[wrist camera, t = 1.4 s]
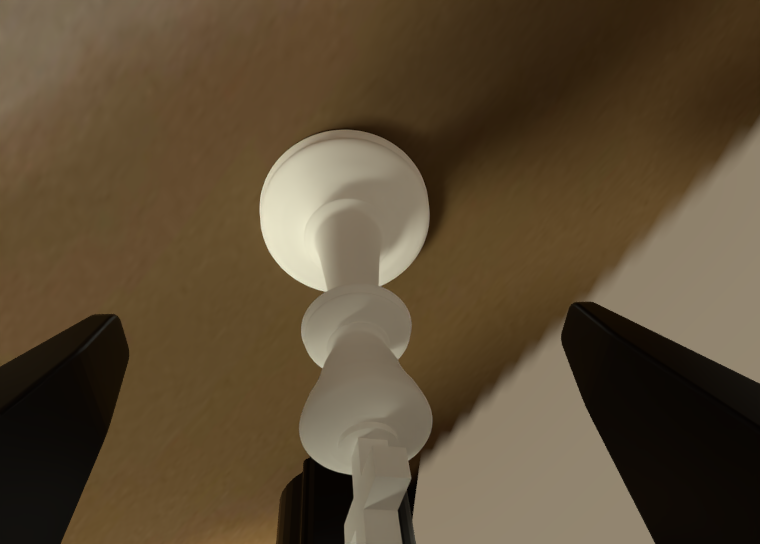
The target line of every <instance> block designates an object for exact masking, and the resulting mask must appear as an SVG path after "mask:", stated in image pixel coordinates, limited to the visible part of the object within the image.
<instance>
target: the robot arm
mask: <svg viewBox="0 0 760 544" xmlns="http://www.w3.org/2000/svg"><path fill="white" fill-rule="evenodd" d="M561 341H562V346H563V348H564V351H565V354H566V356H567V359H568V362H569V364H570V367H571V370H572V372H573V375H574V377H575V380H576V383H577V386H578V388H579V391H580V393H581V396H582V399H583V401H584V403H585V406H586V408H587V410H588V412H589V414H590V416H591V418H592V420H593V422H594V424H595V426H596V428H597V430H598V432H599V434H600V436H601V438H602V440H603V442H604V443H605V446H606V448H607V450H608V452H609V454H610V456H611V458H612V459H613V461H614V463H615V465H616V467H617V469H618V471H619V473H620V475H621V477H622V479H623V481H624V483H625V485H626V487H627V489H628V491H629V493H630V495H631V497H632V499H633V500H634V503H635V505H636V507H637V509H638V511H639V513H640V515H641V516H642V518H643V520H644V522H645V524H646V526H647V528H648V530H649V532H650V534H651V536H652V538H653V540H654V542H655V544H760V383H757V382H755V381H753V380H751V379H749V378H747V377H745V376H743V375H741V374H739V373H737V372H735V371H733V370H731V369H729V368H727V367H725V366H723V365H721V364H718V363H717V362H715V361H712V360H710V359H708V358H706V357H704V356H702V355H700V354H698V353H696V352H694V351H692V350H690V349H688V348H686V347H684V346H682V345H680V344H678V343H676V342H674V341H672V340H670V339H668V338H665V337H663V336H661V335H659V334H657V333H655V332H653V331H651V330H649V329H647V328H645V327H643V326H641V325H639V324H637V323H635V322H633V321H630V320H629V319H627V318H625V317H622V316H620V315H618V314H616V313H614V312H612V311H610V310H608V309H606V308H604V307H602V306H600V305H598V304H596V303H594V302H574V303H573V304H571V306H570V307H569V310H568V313H567V317H566V320H565V323H564V327H563V330H562V334H561ZM128 360H129V348H128V344H127V341H126V337H125V334H124V330H123V327H122V324H121V321H120V319H119V317H118V316H117V315H115V314H95V315H91V316H89V317H88V318H86V319H84V320H82V321H81V322H79V323H77V324H75V325H73V326H72V327H70V328H68V329H66V330H65V331H63V332H61V333H59V334H57V335H56V336H54V337H52V338H50V339H49V340H47V341H45V342H43V343H41V344H40V345H38V346H36V347H34V348H33V349H31V350H29V351H27V352H25V353H24V354H22V355H20V356H18V357H17V358H15V359H13V360H11V361H10V362H8V363H6V364H4V365H2V366H1V367H0V544H61V542H62V539H63V537H64V534H65V532H66V530H67V527H68V525H69V523H70V520H71V518H72V515H73V513H74V511H75V508H76V506H77V504H78V501H79V499H80V497H81V494H82V492H83V489H84V487H85V485H86V482H87V480H88V478H89V475H90V473H91V470H92V468H93V466H94V463H95V461H96V459H97V456H98V454H99V452H100V449H101V447H102V444H103V442H104V439H105V437H106V434H107V432H108V429H109V426H110V423H111V419H112V416H113V412H114V409H115V406H116V402H117V399H118V395H119V392H120V388H121V385H122V381H123V378H124V374H125V371H126V367H127V364H128ZM418 473H419V469H418V470H417V471H416V472H415V474H414V475H413V476H411V481H410V483H409V485H408V488H407V490H406V492H405V495H404V497H403V499H402V502H401V504H400V506H399V509H398V517H399V524H400V531H401V538H402V544H416V541H415V535H414V530H413V524H412V519H413V511H414V504H415V495H416V488H417V481H418ZM353 498H354V495H353V479H352V475H349V474H343V473H339V472H336V471H333V470H330V469H328V468H326V467H324V466H322V465H321V464H319V463H318V462H316V461H315V460H314V459H313V458H312V457H311V456H310V458H308V459H306V460H305V461H304V463H303V472H302V473H301V474H299V475H298V476H296V477H295V478H293V479H292V480H291V481H290V482H289V483H288V484H287V486H286V487H285V489H284V490H283V492H282V495H281V498H280V505H279V516H278V528H277V540H276V544H345V536H344V524H345V521H346V518H347V515H348V513H349V510H350V507H351V504H352V501H353Z"/></svg>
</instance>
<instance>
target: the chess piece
mask: <svg viewBox="0 0 760 544" xmlns="http://www.w3.org/2000/svg"><path fill="white" fill-rule="evenodd" d="M429 219H430V211H429V202H428V194H427V190H426V186H425V183H424V180H423V178H422V176H421V174H420V172H419V170H418V169H417V167H416V165H415V164H414V163H413V161H412V160H411V159H410V158H409V157H408V156H407V155H406V154H405V153H404V152H403V151H402V150H401V149H400V148H398V147H397V146H396V145H394V144H393V143H391V142H389V141H388V140H386V139H384V138H382V137H379V136H377V135H374V134H371V133H367V132H363V131H357V130H332V131H326V132H322V133H319V134H315V135H313V136H310V137H308V138H306V139H304V140H302V141H300V142H298V143H297V144H295V145H294V146H292V147H291V148H290V149H288V150H287V151H286V152H285V153H284V154H283V155H282V156H281V157H280V158H279V159H278V160H277V161H276V163H275V164H274V165H273V167H272V168H271V170H270V172H269V174H268V175H267V178H266V180H265V182H264V185H263V188H262V192H261V198H260V221H261V229H262V234H263V237H264V240H265V243H266V245H267V248H268V250H269V251H270V253H271V255H272V256H273V258H274V259H275V261H276V262H277V263H278V264H279V265H280V267H281V268H282V269H283V270H284V271H286V272H287V273H288V274H289V275H290V276H292V277H293V278H294V279H296V280H298V281H299V282H301V283H303V284H305V285H307V286H309V287H312V288H314V289H317V290H321V291H325V293H323V294H322V295H320V296H319V297H318V298H317V299H315V300H314V301H313V302H312V304H311V305H310V306H309V307H308V309H307V311H306V313H305V315H304V317H303V320H302V325H301V335H302V340H303V343H304V345H305V347H306V350H307V352H308V354H309V355H310V357H311V358H312V359H313V361H314V362H315V363H316V364H318V365H319V366H320V367H321V368H322V372H321V375H320V377H319V379H318V381H317V383H316V385H315V386H314V387H313V389H312V391H311V392H310V394H309V397H308V399H307V401H306V403H305V406H304V408H303V411H302V414H301V418H300V423H299V434H300V439H301V442H302V445H303V447H304V449H305V450H306V452H307V453H308V454H309V455H310V456H311V457H312V458H313V459H314V460H315V461H316V462H318V463H319V464H321V465H322V466H324V467H326V468H328V469H330V470H333V471H336V472H339V473H343V474H349V475H352V479H353V495H354V498H353V501H352V504H351V507H350V510H349V513H348V515H347V518H346V521H345V524H344V536H345V544H402V538H401V531H400V524H399V517H398V509H399V506H400V504H401V502H402V499H403V497H404V495H405V492H406V490H407V488H408V485H409V483H410V481H411V473H410V468H409V462H408V461H409V460H410V459H411V458H413V457H414V456H415V455H416V454H417V453H418V452H419V451H420V450H421V449H422V448H423V446H424V445H425V443H426V442H427V440H428V438H429V436H430V433H431V429H432V412H431V409H430V406H429V403H428V401H427V399H426V397H425V396H424V394H423V393H422V391H421V390H420V388H419V387H418V386H417V384H416V383H415V381H414V380H413V379H412V378H411V377H410V376H409V375H408V374H407V373H406V372H405V371H404V369H403V368H402V367H401V365H400V363H399V361H398V359H399V358H400V357H401V356H402V354H403V353H404V351H405V350H406V348H407V345H408V343H409V339H410V334H411V326H412V325H411V317H410V313H409V311H408V309H407V307H406V305H405V304H404V303H403V301H402V300H401V299H400V298H399V297H398V296H397V295H395V294H394V293H392V292H391V291H389V290H387V289H385V288H383V287H380V286H382V285H384V284H386V283H388V282H390V281H391V280H393V279H394V278H396V277H397V276H399V275H400V274H401V273H402V272H403V271H405V270H406V269H407V268H408V267H409V266H410V264H411V263H412V262H413V261H414V260H415V258H416V257H417V255H418V254H419V252H420V250H421V248H422V246H423V244H424V242H425V239H426V236H427V232H428V228H429Z"/></svg>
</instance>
